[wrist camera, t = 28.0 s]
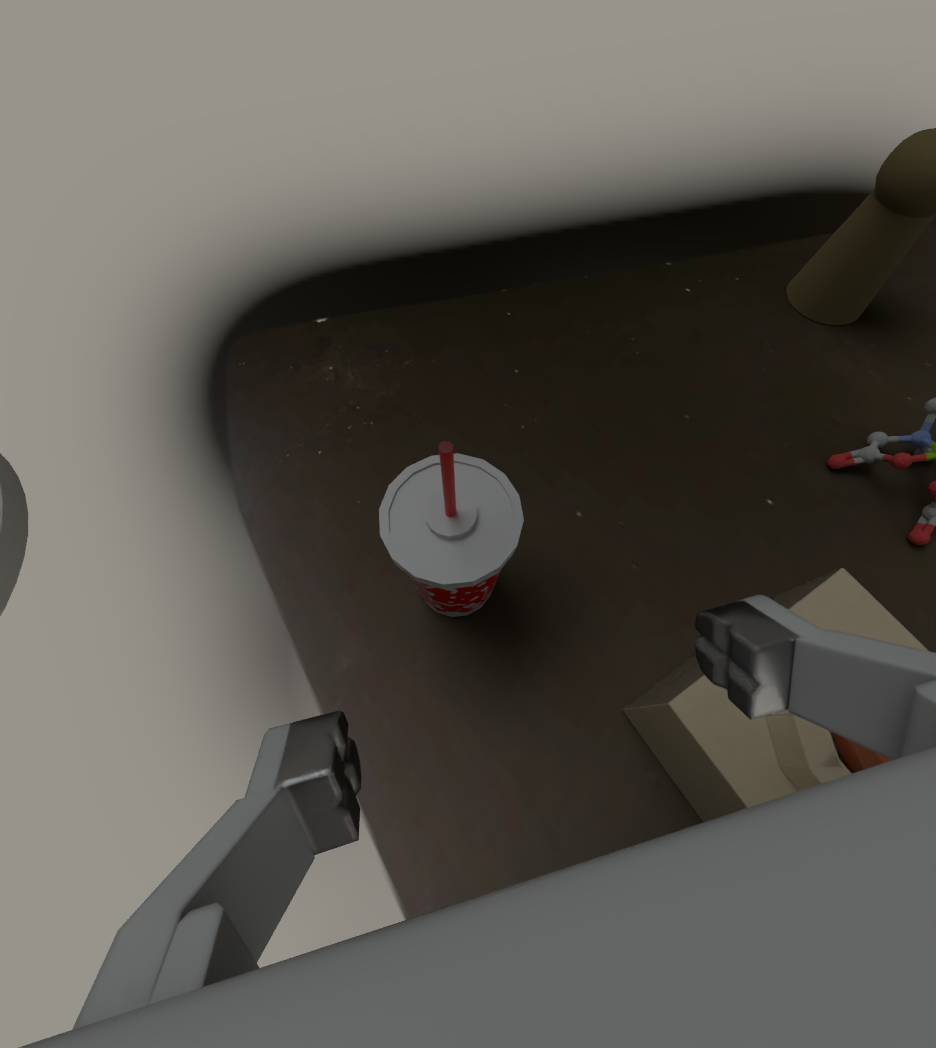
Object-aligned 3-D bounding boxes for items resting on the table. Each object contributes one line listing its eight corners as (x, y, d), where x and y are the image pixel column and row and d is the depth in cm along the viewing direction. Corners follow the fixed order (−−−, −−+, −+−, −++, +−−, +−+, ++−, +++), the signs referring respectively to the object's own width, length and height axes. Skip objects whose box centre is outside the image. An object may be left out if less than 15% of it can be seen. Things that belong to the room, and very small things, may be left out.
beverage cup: (384, 573, 28) (313, 437, 15) (461, 514, 29) (458, 346, 16) (448, 652, 26) (430, 575, 13) (527, 584, 27) (581, 456, 15)
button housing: (763, 907, 21) (922, 1001, 14) (621, 709, 24) (687, 700, 17) (913, 762, 23) (1113, 776, 16) (764, 601, 27) (875, 553, 20)
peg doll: (880, 313, 37) (1035, 156, 27) (818, 333, 36) (955, 179, 26) (829, 266, 39) (955, 105, 29) (771, 283, 38) (879, 124, 28)
